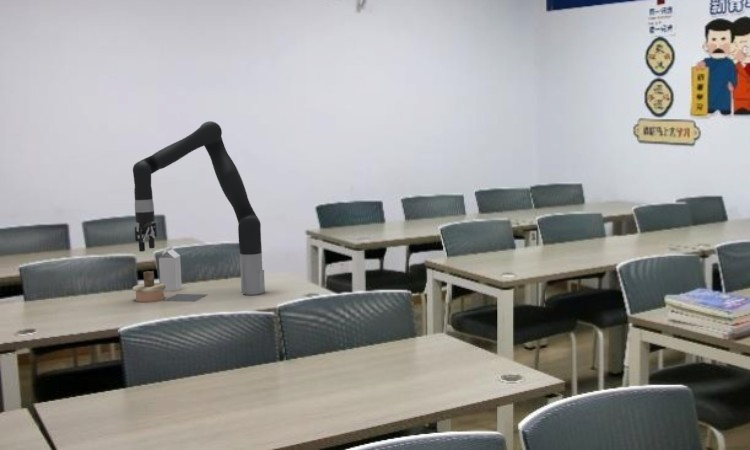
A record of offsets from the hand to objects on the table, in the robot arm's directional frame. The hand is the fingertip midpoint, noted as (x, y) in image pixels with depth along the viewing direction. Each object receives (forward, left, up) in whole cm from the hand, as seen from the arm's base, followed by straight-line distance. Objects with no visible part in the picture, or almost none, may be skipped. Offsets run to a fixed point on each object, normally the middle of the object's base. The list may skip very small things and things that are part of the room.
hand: (147, 249), depth 338 cm
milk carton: (0, -20, -22) cm, 29 cm away
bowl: (0, 0, -21) cm, 21 cm away
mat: (-14, -4, -21) cm, 26 cm away
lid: (0, 0, -16) cm, 16 cm away
